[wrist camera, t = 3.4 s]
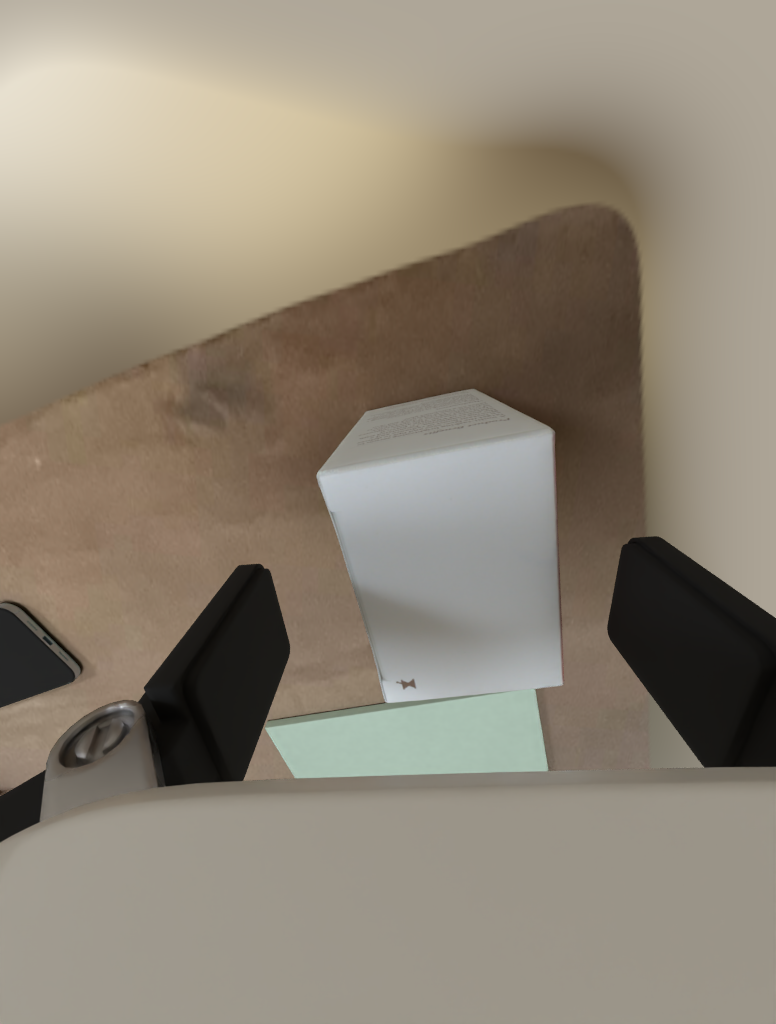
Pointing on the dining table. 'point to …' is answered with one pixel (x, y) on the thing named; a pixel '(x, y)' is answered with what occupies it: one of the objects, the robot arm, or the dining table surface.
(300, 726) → the mat
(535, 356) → the dining table surface
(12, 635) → the smartphone
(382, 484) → the small box
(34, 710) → the dining table surface
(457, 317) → the dining table surface
